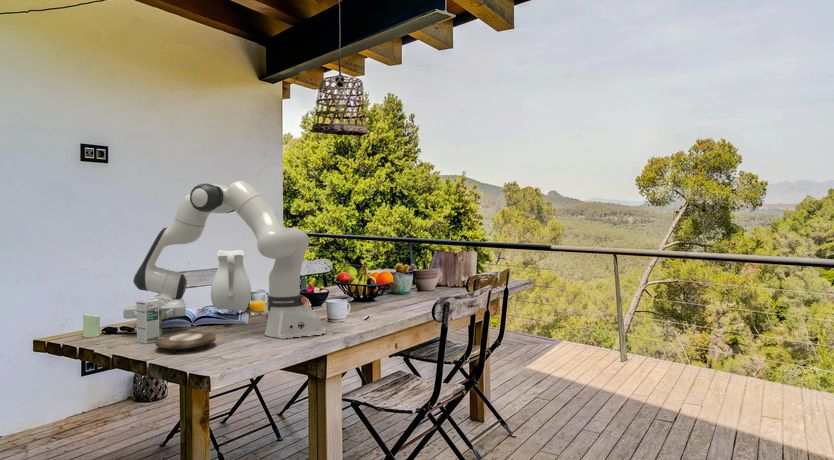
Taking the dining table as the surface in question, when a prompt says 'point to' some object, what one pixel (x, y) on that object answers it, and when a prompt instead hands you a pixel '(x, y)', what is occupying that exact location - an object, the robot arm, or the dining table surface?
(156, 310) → the syrup box
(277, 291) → the robot arm
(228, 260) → the pitcher
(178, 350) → the turntable base
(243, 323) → the dining table surface
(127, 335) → the dining table surface
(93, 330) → the candle
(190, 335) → the brown plate
